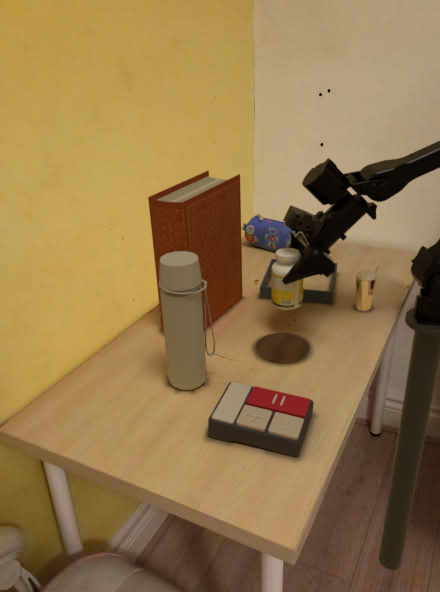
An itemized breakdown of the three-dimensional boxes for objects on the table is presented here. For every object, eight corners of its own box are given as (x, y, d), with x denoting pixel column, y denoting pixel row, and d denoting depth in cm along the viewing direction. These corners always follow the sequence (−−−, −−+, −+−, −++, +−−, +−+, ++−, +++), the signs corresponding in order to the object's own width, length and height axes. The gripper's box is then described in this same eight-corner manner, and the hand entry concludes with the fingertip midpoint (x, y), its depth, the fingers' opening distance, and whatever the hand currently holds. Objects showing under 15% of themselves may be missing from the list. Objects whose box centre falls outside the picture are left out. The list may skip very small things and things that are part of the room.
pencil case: (241, 247, 159) (240, 216, 155) (257, 238, 165) (257, 208, 160) (307, 263, 147) (308, 230, 143) (322, 253, 153) (324, 221, 148)
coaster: (312, 337, 114) (312, 335, 113) (306, 366, 104) (306, 364, 104) (260, 332, 116) (260, 330, 116) (250, 360, 107) (250, 358, 107)
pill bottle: (297, 295, 116) (298, 244, 110) (306, 308, 110) (308, 256, 104) (267, 298, 115) (267, 247, 109) (276, 313, 109) (276, 260, 103)
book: (213, 290, 134) (207, 170, 120) (242, 297, 131) (240, 174, 116) (159, 333, 117) (144, 198, 103) (190, 342, 114) (179, 204, 99)
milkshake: (380, 309, 123) (385, 269, 118) (360, 313, 122) (364, 273, 117) (368, 300, 127) (372, 261, 122) (349, 305, 125) (352, 265, 121)
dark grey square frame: (336, 273, 141) (337, 262, 139) (332, 303, 126) (333, 292, 125) (271, 269, 145) (271, 258, 143) (259, 298, 130) (259, 286, 129)
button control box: (300, 439, 81) (207, 416, 85) (297, 460, 83) (207, 436, 88) (314, 396, 90) (230, 377, 94) (312, 416, 92) (229, 396, 97)
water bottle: (172, 396, 98) (159, 270, 86) (165, 372, 104) (153, 252, 92) (221, 388, 99) (216, 263, 87) (211, 364, 106) (205, 245, 94)
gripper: (300, 179, 109) (247, 234, 114) (321, 208, 93) (258, 270, 98) (336, 214, 113) (283, 266, 118) (362, 247, 97) (300, 305, 102)
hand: (280, 275), depth 109 cm, fingers closed on pill bottle, 6 cm apart
